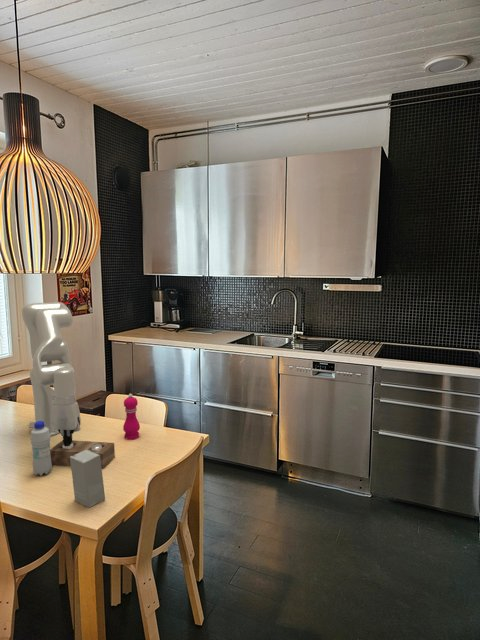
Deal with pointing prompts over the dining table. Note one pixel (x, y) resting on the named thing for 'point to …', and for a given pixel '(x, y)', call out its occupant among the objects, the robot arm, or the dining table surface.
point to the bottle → (41, 449)
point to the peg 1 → (68, 446)
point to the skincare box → (87, 478)
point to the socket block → (62, 455)
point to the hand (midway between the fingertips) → (67, 444)
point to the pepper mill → (131, 418)
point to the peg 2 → (96, 447)
